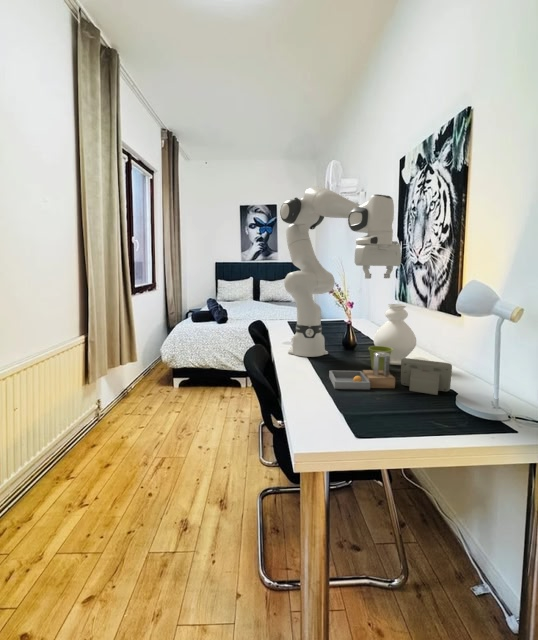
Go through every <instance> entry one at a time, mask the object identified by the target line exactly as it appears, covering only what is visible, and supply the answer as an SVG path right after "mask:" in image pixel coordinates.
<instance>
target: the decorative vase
mask: <svg viewBox="0 0 538 640" xmlns="http://www.w3.org/2000/svg"><path fill="white" fill-rule="evenodd" d="M387 307H388V309H387V310H386V311H385V312H384V316H385V317H386V318H387V319H388V320H387V321H385V322H383V324H382V325H381V326H380V327H379V328H378V329H377V331H376V332H375V334H374V336H373V344H374V346H384V347H389V348H392V349H393V350H392V351H391V354H390V365H395V366H396V365H397V366H401V360H402V359H403V358H408V356H409V355H410V354H411V353H412V352H413V351H414V349H415V348H416V346H417V337H416V335H415V333H414V331H413V330H412V328H411V327H410V326H409V324H408V323H406V322H405V319H407V318H408V317H409V313H408V312H407V310H405V308H407V305H406V304H401V303H388V304H387Z"/></svg>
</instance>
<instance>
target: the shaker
mask: <svg viewBox="0 0 538 640" xmlns="http://www.w3.org/2000/svg"><path fill="white" fill-rule="evenodd" d="M379 357H384V367H383V373H384V377H388V376H389V373H390V365H391V364H390V354H389V353H386V352H375V353H374V365H373V369H372V370H373V375H375V376H378V375H379Z"/></svg>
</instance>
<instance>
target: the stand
mask: <svg viewBox="0 0 538 640" xmlns="http://www.w3.org/2000/svg"><path fill="white" fill-rule="evenodd" d="M362 373H363V374H364V375H365V376H366V378H367V379H368V380H369V381H370V389H395V387H396V377H395V376H393V374H391V373H390V372H389V376H388V377H384V373H383V370H379V375H378V376H375V375H373V369H362Z"/></svg>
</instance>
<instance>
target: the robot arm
mask: <svg viewBox="0 0 538 640" xmlns="http://www.w3.org/2000/svg"><path fill="white" fill-rule="evenodd" d="M279 213H280V218H281V220H282V221H283V222H284V223H286V224H289V225H288V226H287V228H286V230H285V233H286V243H287V248H288V252H289V255H290V258H291V263H292V264H293V265H294V266H295V267H296V268H298V269H299V270H296V271H292V272H291V271H290V272H289V273H287V274H286V276H285V278H284V288H285V290H286V292H287V293H289V294H290V296H291V297H292V298H293V300H294V302H295V305H296V306H295V307H296V324H295V331H296V332H295V334H293V336H292V337H291V339H290V340H291V341H290V342H291V347H290V349H288V351H287V353H288V354H290V355H294V356H298V357H306V358H307V357H308V358H309V357H311V358H315V357H321V356H324V355H328V354H329V351H327V349H325V336H324V335H323V334H322V330H323V328H322V324H321V321H322V308H321V306H320V305H319V304H318V303H316V302H315V301H314V298H313V297H314V296H313V295H325V294H326V293H331V291H333V289H334V287H335V282H336V281H335V277H334V275H333V274H332V273H331V272H330V271H328V269H327V270H326V268H325V267H323V265H322V264H321V263H320V261H319V260H318V257H317V256H316V253H315V251H314V247H313V244H312V240H311V238H310V232H309V231H310V230H315V229H316V227H318V226H319V225H320V224H321V223H322V222H323V221H324V219H325V218H329V219H331V218H332V219H333V218H336V219H347V222H348V223H347V224H348V227H349V228H350V230H351V231H353V232H356V233H362V234H367V235H365V236H362V237H359V238H357V239H356V242H355V243H356V247H355V250H354V264H355V266H357V267H358V266H359V267H360V266H362V270H363V273H364V279H367V280H368V279H372V273H370V272H371V271H370V269H371V266H372V267H385V269H386V271H385V273H383V279H391V274H392V272H393V270H394V267H400V266H401V263H402V250H401V245H400V243H399V242H398V241H396V240H395V241H393V234H394V231H393V230H394V229H393V223H394V219H395V215H394V214H395V204H394V199H393V197H391V196H390V195H385V194H373V195H371V196H370V197H369V199H368V200H367V201H365V202H364V203H362V204H359V203H356V202H354V201H352V200H350V199H348V198H346V197H344V196H342V194H341V195H340V194H339V193H337V192H336V191H333V190H332V189H331V190H330V189H328V188H326V187H320V186H310V187H309V188H307V189H306V190H305V192H304V194H303V196H302V198H298V197H293V198H292V199H288V200H285V201H284V202H283V203H282V205H281V206H280V211H279Z"/></svg>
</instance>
